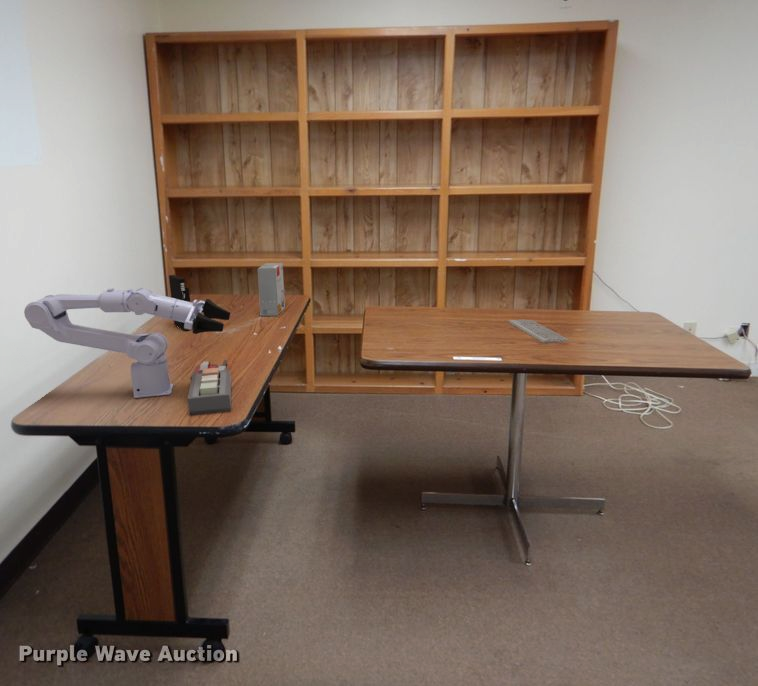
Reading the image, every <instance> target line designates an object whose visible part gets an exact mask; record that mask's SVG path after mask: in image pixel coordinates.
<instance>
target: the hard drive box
mask: <svg viewBox="0 0 758 686" xmlns="http://www.w3.org/2000/svg"><path fill="white" fill-rule="evenodd" d="M283 266H284V264H283V262H266V263H264V264H262V265H261V266H260V267H258V268H257V282H258V298H259V300H258V302H259V315H260V317H263V316H264V317H266V316H267V317H276V316H277V317H278V316H279V315H280V314H281V313H282V312H283V311H284V310H285V309H286V298H285V285H284V284H285V283H284V282H285V281H284V267H283Z"/></svg>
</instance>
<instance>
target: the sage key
mask: <svg viewBox="0 0 758 686" xmlns="http://www.w3.org/2000/svg"><path fill="white" fill-rule="evenodd" d="M200 393H201V395H211V394H218V387H217V382H212V383H201V386H200Z"/></svg>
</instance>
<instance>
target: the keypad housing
mask: <svg viewBox="0 0 758 686" xmlns="http://www.w3.org/2000/svg"><path fill="white" fill-rule="evenodd" d="M202 373H203V372H201V373H193V372H192V374H193V375H192V374H191V376H192V380H191V379H190V385H189V389H188V396H187V405H188V413H189V416H196V415H205V414H206V415H207V414H216V412H218V413H225V412H226V411H227V412H231V411H232V381H231V380H232V379H231V369H226V370H223V371H219V378H218V383H219V386H217V387H218V394H211V395H201V393H200V386H201V379H202V376H203V375H202Z"/></svg>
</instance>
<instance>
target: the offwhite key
mask: <svg viewBox="0 0 758 686" xmlns="http://www.w3.org/2000/svg"><path fill="white" fill-rule="evenodd" d="M212 382H217V386H219V384H218V375H208V376H202V379H201V383H212Z"/></svg>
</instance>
